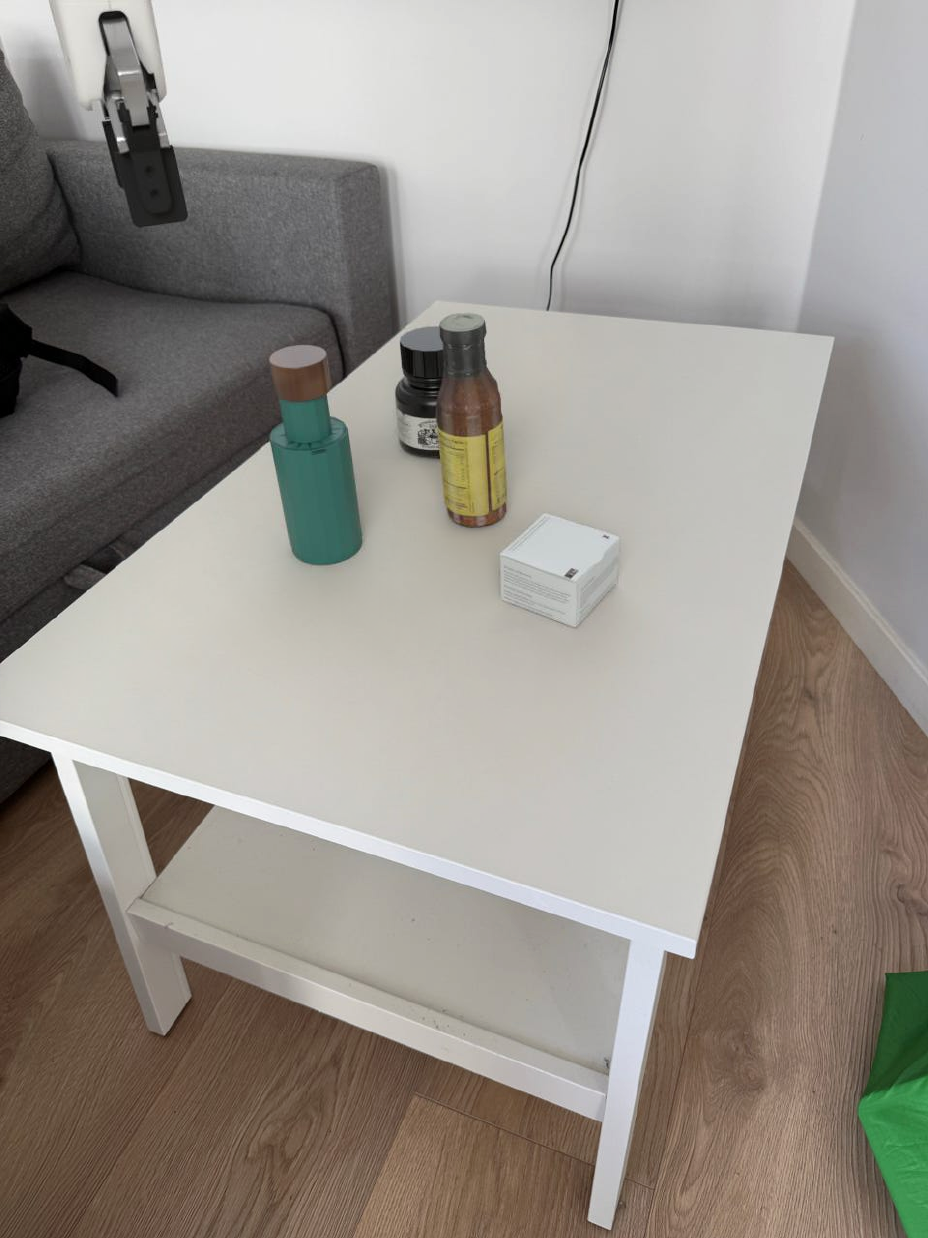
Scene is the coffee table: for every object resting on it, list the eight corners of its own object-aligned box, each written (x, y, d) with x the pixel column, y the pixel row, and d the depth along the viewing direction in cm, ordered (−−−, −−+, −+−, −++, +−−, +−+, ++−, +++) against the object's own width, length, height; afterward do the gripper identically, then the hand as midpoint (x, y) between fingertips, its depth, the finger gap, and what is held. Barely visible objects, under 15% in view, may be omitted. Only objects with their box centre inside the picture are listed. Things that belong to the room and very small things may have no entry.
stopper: (286, 433, 77) (275, 372, 74) (274, 410, 81) (263, 350, 78) (341, 422, 79) (332, 361, 75) (327, 399, 82) (318, 340, 79)
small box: (543, 556, 85) (544, 509, 82) (619, 583, 82) (623, 535, 78) (497, 600, 80) (496, 552, 77) (575, 631, 77) (578, 582, 73)
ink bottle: (388, 458, 101) (377, 354, 93) (403, 421, 108) (394, 321, 100) (476, 461, 100) (472, 356, 92) (485, 423, 106) (482, 322, 99)
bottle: (300, 572, 85) (270, 414, 75) (284, 535, 90) (254, 382, 80) (370, 554, 87) (350, 397, 77) (351, 519, 92) (329, 367, 82)
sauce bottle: (489, 491, 95) (484, 300, 82) (518, 519, 90) (517, 322, 78) (432, 508, 93) (417, 315, 80) (459, 538, 88) (448, 338, 76)
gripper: (-9, -142, 52) (82, 180, 63) (-15, -156, 40) (100, 250, 50) (126, -147, 54) (191, 166, 65) (161, -162, 42) (235, 230, 52)
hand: (152, 202), depth 58 cm, fingers open, 9 cm apart
